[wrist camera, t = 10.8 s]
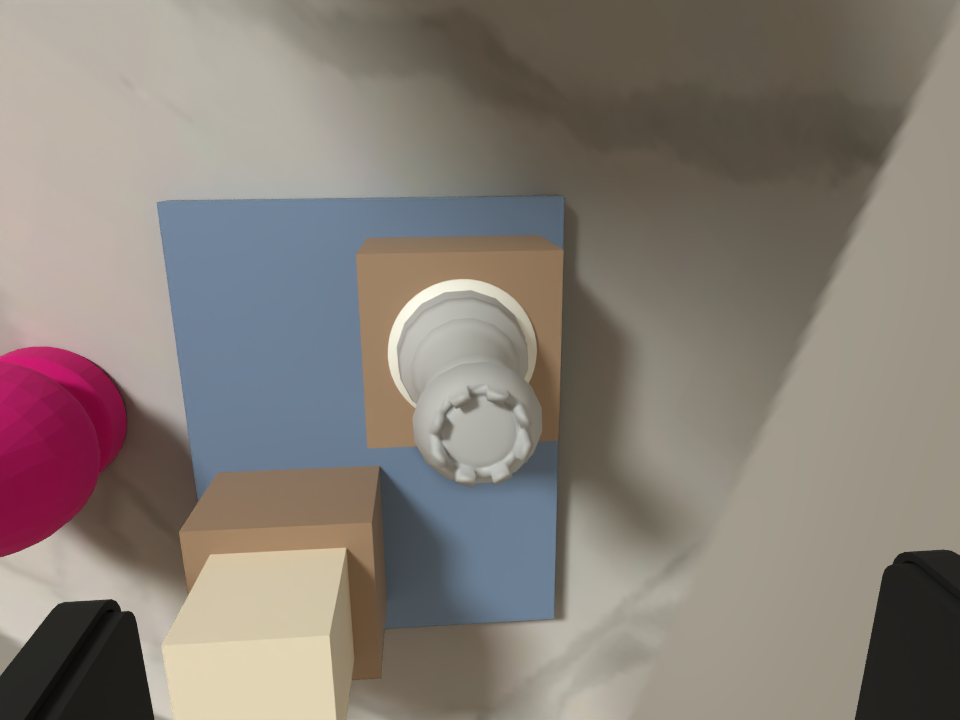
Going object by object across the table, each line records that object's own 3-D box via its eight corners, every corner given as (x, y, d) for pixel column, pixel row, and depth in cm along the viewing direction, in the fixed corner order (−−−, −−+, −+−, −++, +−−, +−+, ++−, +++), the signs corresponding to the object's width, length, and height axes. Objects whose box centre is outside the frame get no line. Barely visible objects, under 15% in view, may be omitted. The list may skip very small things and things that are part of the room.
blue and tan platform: (167, 200, 28) (8, 226, 17) (558, 195, 29) (639, 216, 18) (223, 622, 33) (130, 841, 23) (549, 603, 35) (606, 802, 24)
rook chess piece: (548, 326, 24) (610, 404, 16) (483, 432, 25) (512, 552, 17) (437, 263, 23) (446, 312, 15) (373, 374, 24) (352, 475, 16)
